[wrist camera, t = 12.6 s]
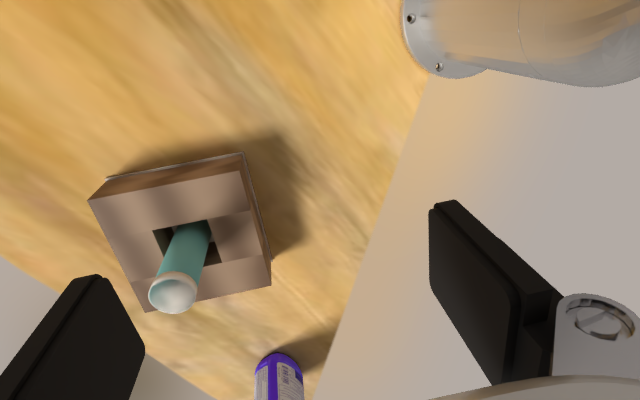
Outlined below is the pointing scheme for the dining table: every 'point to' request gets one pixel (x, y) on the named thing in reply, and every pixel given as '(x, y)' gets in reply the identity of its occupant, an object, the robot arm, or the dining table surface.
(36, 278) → the dining table surface
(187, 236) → the peg
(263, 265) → the socket block
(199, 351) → the dining table surface
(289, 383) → the bottle
